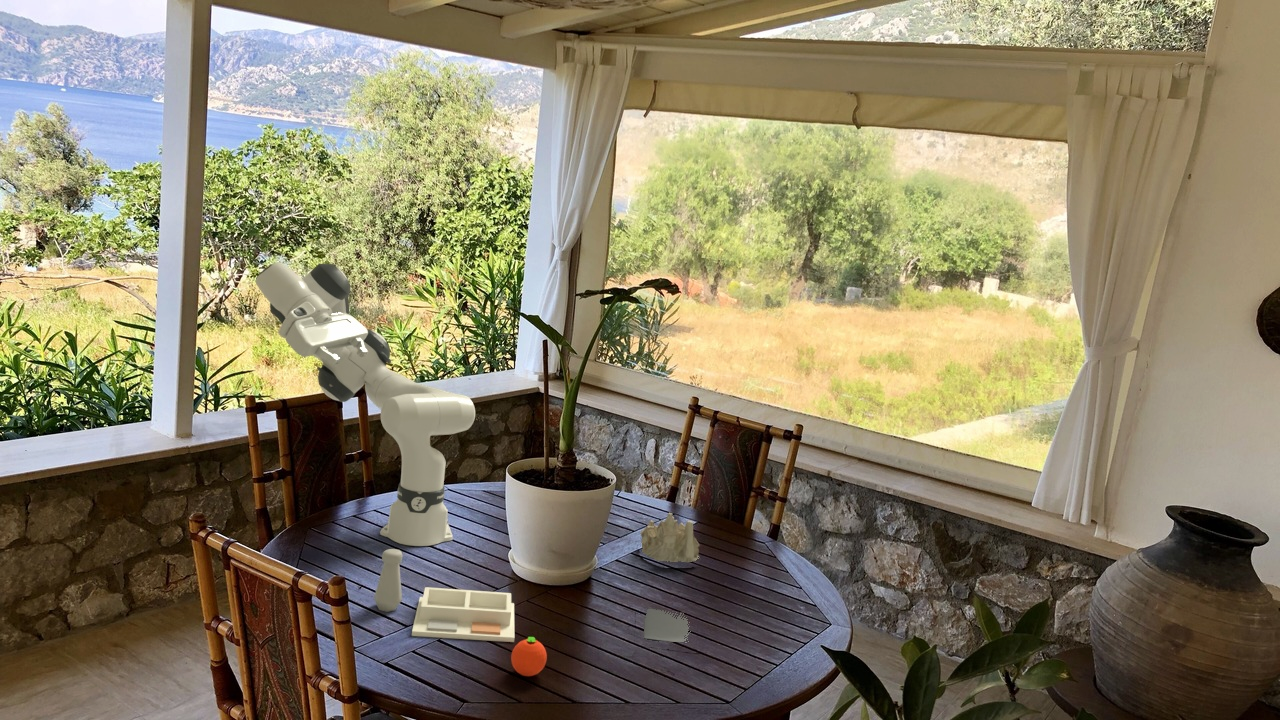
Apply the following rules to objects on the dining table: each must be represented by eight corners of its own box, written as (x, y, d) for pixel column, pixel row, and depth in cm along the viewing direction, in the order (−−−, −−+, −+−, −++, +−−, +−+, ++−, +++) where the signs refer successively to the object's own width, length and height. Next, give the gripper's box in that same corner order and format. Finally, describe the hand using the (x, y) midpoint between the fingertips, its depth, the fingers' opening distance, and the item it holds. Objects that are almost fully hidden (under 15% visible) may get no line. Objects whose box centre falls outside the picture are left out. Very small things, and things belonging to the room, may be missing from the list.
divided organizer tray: (419, 601, 204) (421, 584, 204) (513, 607, 208) (515, 590, 207) (411, 635, 188) (413, 617, 187) (513, 642, 191) (516, 624, 190)
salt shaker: (393, 615, 195) (398, 558, 194) (368, 610, 197) (374, 552, 195) (405, 605, 201) (411, 549, 199) (381, 600, 202) (386, 544, 200)
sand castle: (704, 569, 247) (709, 515, 245) (646, 570, 243) (651, 514, 241) (687, 551, 262) (692, 500, 260) (632, 551, 258) (636, 499, 256)
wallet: (701, 649, 197) (631, 639, 197) (700, 658, 197) (630, 647, 197) (699, 611, 216) (635, 602, 217) (698, 618, 217) (634, 609, 217)
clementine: (510, 661, 183) (514, 628, 182) (545, 664, 184) (549, 631, 182) (508, 681, 175) (512, 646, 174) (544, 684, 176) (548, 649, 175)
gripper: (337, 320, 219) (375, 360, 216) (272, 334, 200) (313, 377, 198) (349, 301, 216) (387, 341, 214) (284, 313, 198) (325, 357, 195)
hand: (351, 358), depth 205 cm, fingers open, 8 cm apart
